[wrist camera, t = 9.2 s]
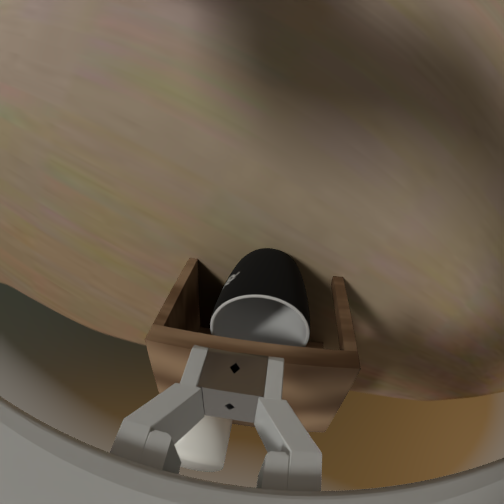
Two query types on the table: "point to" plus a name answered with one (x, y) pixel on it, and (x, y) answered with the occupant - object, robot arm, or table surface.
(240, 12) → the table surface
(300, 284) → the mug
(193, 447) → the white cylinder
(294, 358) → the open wooden crate
